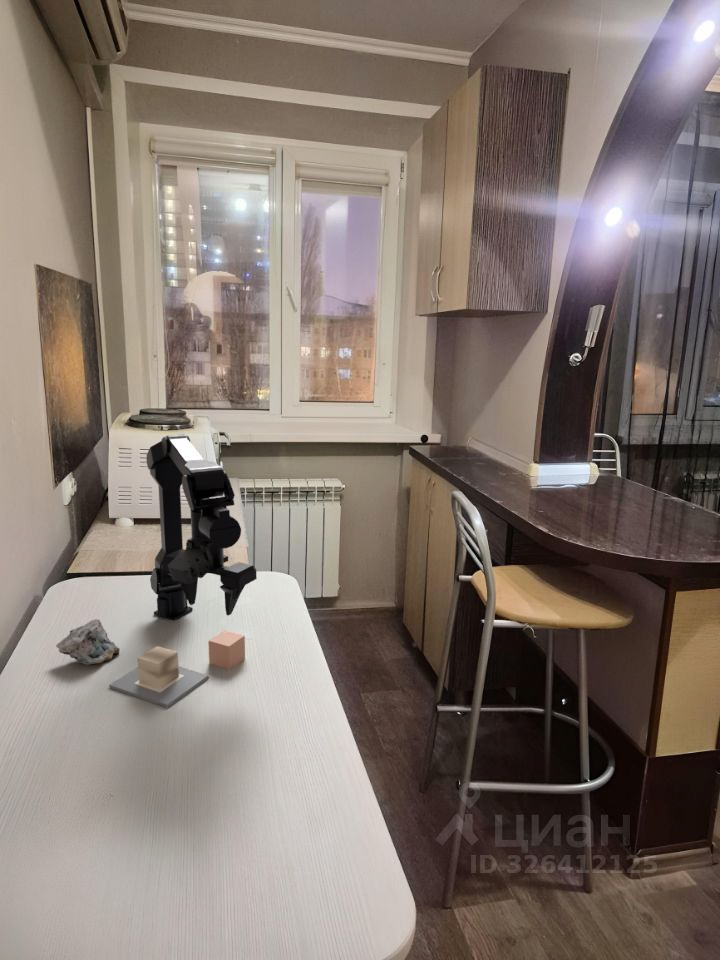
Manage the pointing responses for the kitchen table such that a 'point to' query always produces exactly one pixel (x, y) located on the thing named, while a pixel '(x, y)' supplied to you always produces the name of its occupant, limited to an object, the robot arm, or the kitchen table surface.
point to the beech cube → (158, 667)
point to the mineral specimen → (88, 644)
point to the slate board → (166, 693)
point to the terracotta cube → (226, 649)
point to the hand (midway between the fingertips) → (210, 609)
